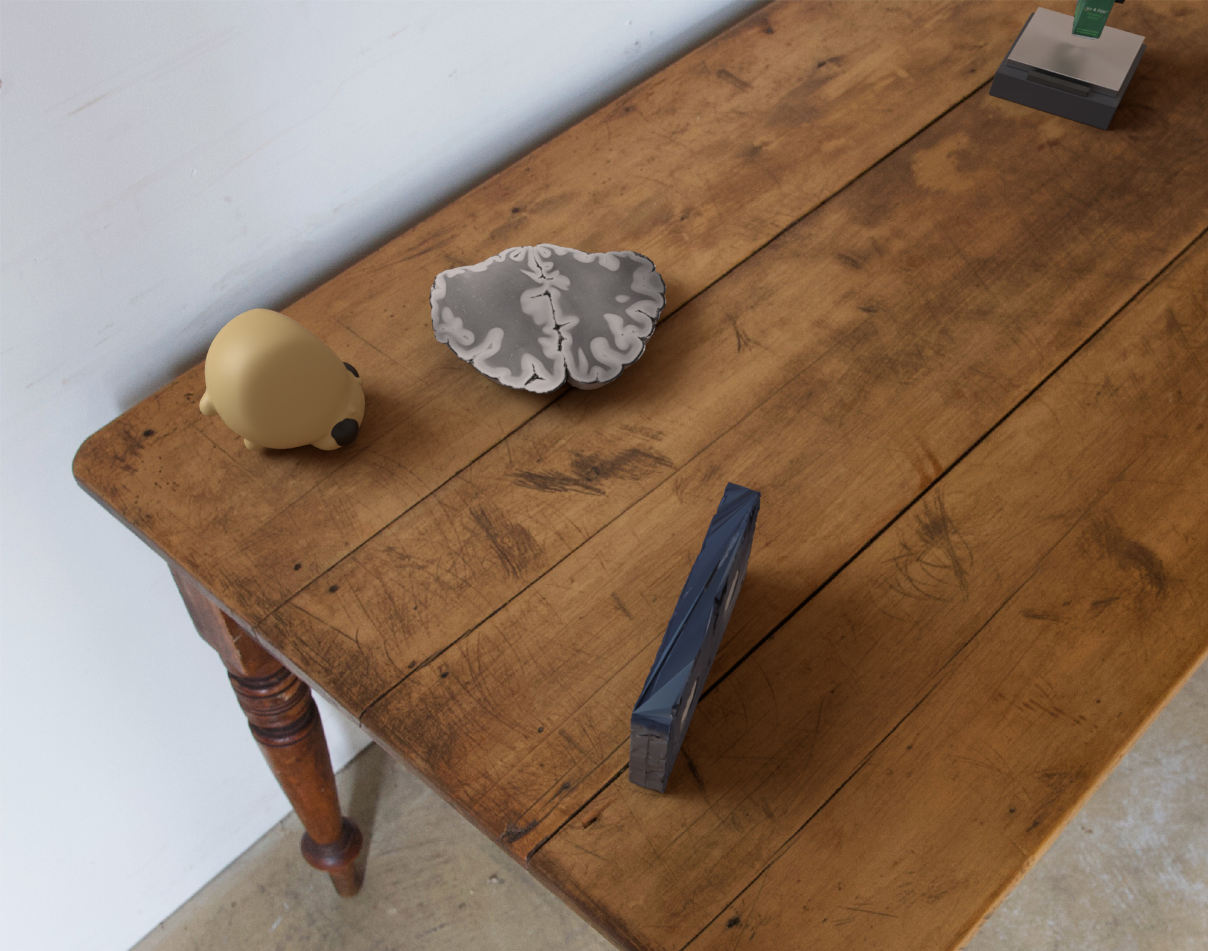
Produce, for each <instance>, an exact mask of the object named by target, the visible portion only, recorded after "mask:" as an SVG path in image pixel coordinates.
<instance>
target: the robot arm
mask: <svg viewBox="0 0 1208 951" xmlns="http://www.w3.org/2000/svg"><path fill="white" fill-rule="evenodd" d="M1125 2H1126V0H1115V2H1114V4H1121V5H1123V4H1124V3H1125Z"/></svg>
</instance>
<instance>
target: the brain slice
mask: <svg viewBox="0 0 1208 951" xmlns="http://www.w3.org/2000/svg"><path fill="white" fill-rule="evenodd" d="M666 294H667V285H666V283H665V281H664V278H663V276H662V274H661V273H660V272H658V271H657V266H656V264H655V262H654V261H653V260H652V259H651V258H649V257H648V256H646V255H645V254H642V253H640V252H637V251H633V250H622V251H621V250H620V251H619V250H613V251H607V252H587V251H584V250H580V249H576V248H572V247H566V246H560V245H558V244H553V243H545V242H544V243H538V244H536V245H535V246H532V245H524V246H523V245H522V246H521V245H520V246H514V247H513V246H512V247H508V248H505V249H504V250H502V251H500V252H499V253H497V254H494V255H492V256H489V257H488V258H486V259H485V260H483V261H481V262H477V263H475V264H471V265H463V266H458V267H455V268H451V269H445V270H443V271H442V272H439V273H438V274H436V276H435V277H434V279H433V283H432V285H431V287H430V291H429V299H428V300H429V306H430V316H431V326H432V327H431V328H432V330H433V332H434V334H433V335H434V339H435V340H436V342H438V343H440V344H443V345H446V347H448V348H449V350H450V351H451V353H453V354H454V355H455V356H456V357H457V358H458V359H459V360H461V361H462V362H464V363H466V364H468V365H470V366H471V367H473V369H474V370H476V372H477V373H478V374H479V375H481V376H483V377H484V378H485V379H487V380H490V381H492V382H493V383H495V384H497V385H500V386H502V387H505V388H508V389H511V390H515V391H527V392H529V393H534V394H551V393H554V392H556V391H558V390H559V389H560V388H561V387H562V386H564V385H565V384H566V381H567V383H568V384H570V385H571V387H573V388H577V389H580V390H584V391H589V390H590V391H593V390H596V389H599V388H601V387H604V386H606V385H609V384H610V383H612V382H614V381H615V380H617V379H618V378H619V377H620V376H622V375H623V373H624V371H625V370H626V369H627V368H629V367H631V366H632V365H633V364H635V363H636V362H638V361H639V360H640V358H641V357H642V356H643V354H644V352H645V351H646V345H647V344H648V343H649V342H650V341H651V339H652V336H653V334H654V333H655V329H656V326H657V323H658V321H659V319H660V316H661V314H663V312H664V310H665V309H666V307H667V306H666V305H667V299H666V298H667V297H666Z"/></svg>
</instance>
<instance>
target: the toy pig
mask: <svg viewBox="0 0 1208 951" xmlns="http://www.w3.org/2000/svg"><path fill="white" fill-rule="evenodd" d="M204 381H205V385H206V386H205V387H206V388H205V392H204V394H203V395H202V396H201V398H200V400H199V410H200V413H201V414H203V415H204V416H206V417H209V418H210V417H214V416H218V417H219V418H220V419H221V420H222V422H223V423H224V424H225V425H226V426H227V427H228V428H229V429H230V430H231V431H233V432H234V433H235V434H237V435H238V436H239V437H241V438H242V439H243V443H244V446H245V447H246V449H247V450H249V451H252V452H257V451H260V450H262V449H263V448H268V449H276V450H287V449H294V448H299V447H302V446H308V445H311V446H313V447H315V448H316V449H319V450H322V451H334V450H337V449H339V448H342V447H348V446H350V445H353V443H354V442H355V441H356V440H357V439H358V437H359V434H360V426H361V425H362V422H363V419H364V415H365V410H366V409H365V408H366V398H365V393H364V390H363V387H362V386H363V383H364V381H363V379H362V378H361V377H360V374H359V372H358V370H357V368H356V367H355V366H353V365H352V364H351V363H349V362H346V361H342V359H341V358H340V357H339V355H338V354H336V352H335V351H334V350H333V349H332V348H331V347H329V345H327V344H326V343H325V342H324V341H323V340H322V339H320V338H319V337H318V336H317V335H316V334H314V332H312V331H311V330H310V329H308V328H307V327H306V326H304V325H302V324H301V323H299V322H298V321H296V320H294V319H293V318H291V317H289V316H287V315H285V314H283V313H281V312H278V311H275V310H272V309H268V308H261V307H259V308H252V309H249V310H246V311H244V312H242V313H239V315H236V316H235V317H234V318H232V319H230V320H229V321H228V322H227V323H226V324H225V325H224V326H223V327H222V328H221V329H220V331H218V333H217V334H216V335H215V337H214V339H213V340H212V342H211V344H210V346H209V348H208V351H207V354H206V358H205V363H204Z"/></svg>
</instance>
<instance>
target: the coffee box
mask: <svg viewBox="0 0 1208 951" xmlns="http://www.w3.org/2000/svg"><path fill="white" fill-rule="evenodd" d="M1114 5H1115V0H1076V4H1075V10H1074V16H1073V17H1074V22H1073V29H1072V35H1073V36H1076V37H1081V38H1086V39H1091V40H1095V39H1099V38H1100V36H1101V34H1102V31H1103V29H1104V26H1106V23H1107V21H1108V18H1109V17H1110V14H1111V12H1112V10H1113V7H1114Z"/></svg>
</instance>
